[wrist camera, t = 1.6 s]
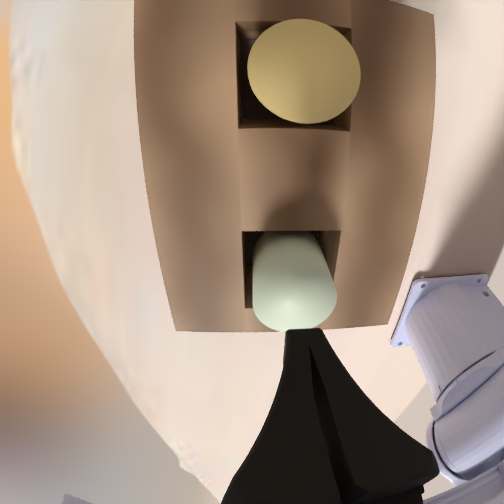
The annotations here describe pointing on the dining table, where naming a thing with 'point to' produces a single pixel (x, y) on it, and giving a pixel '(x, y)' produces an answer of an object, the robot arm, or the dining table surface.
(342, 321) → the peg block
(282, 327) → the sage peg
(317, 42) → the mustard peg
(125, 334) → the dining table surface
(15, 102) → the dining table surface
